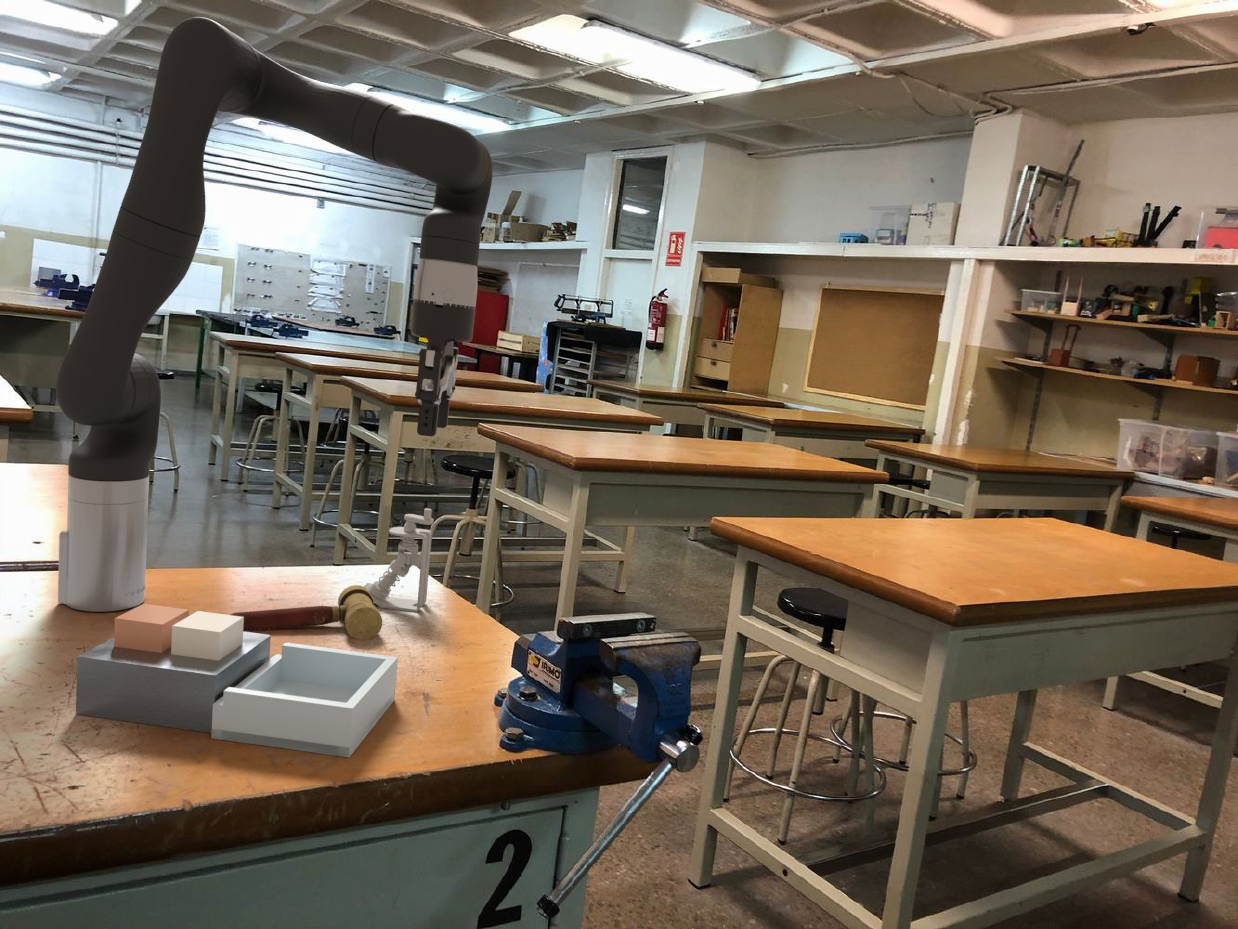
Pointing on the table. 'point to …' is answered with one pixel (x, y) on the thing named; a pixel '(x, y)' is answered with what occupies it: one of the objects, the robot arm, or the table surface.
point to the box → (308, 700)
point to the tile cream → (207, 635)
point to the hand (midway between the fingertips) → (432, 431)
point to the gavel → (323, 615)
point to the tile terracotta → (147, 627)
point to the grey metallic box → (162, 683)
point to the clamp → (406, 565)
